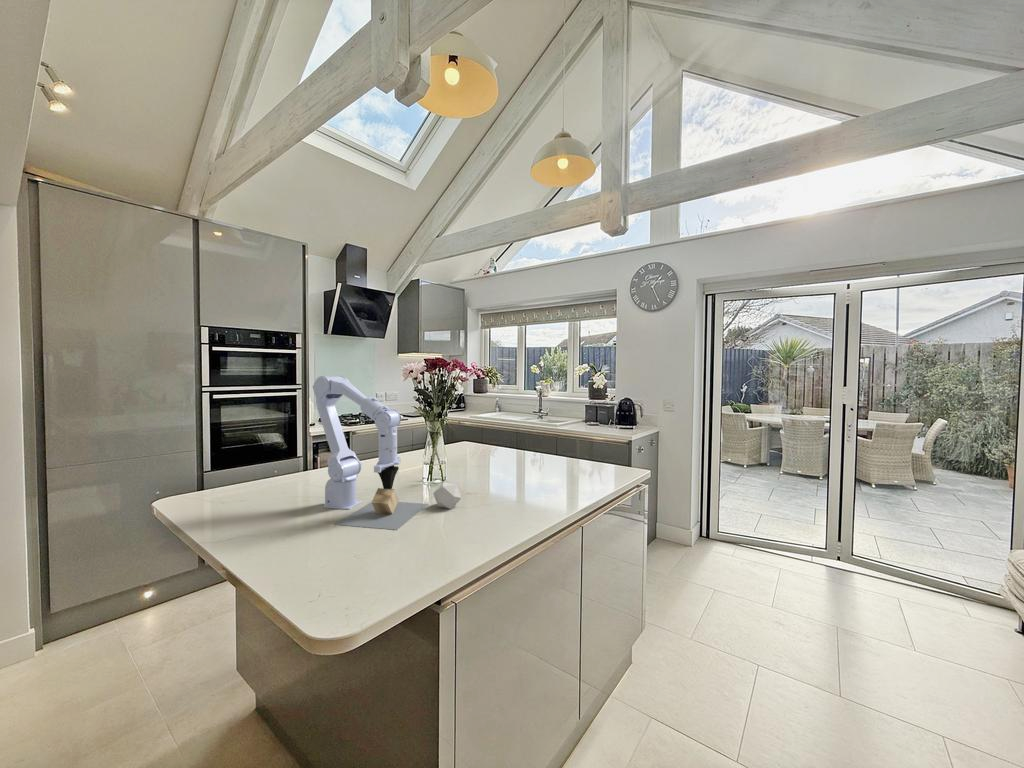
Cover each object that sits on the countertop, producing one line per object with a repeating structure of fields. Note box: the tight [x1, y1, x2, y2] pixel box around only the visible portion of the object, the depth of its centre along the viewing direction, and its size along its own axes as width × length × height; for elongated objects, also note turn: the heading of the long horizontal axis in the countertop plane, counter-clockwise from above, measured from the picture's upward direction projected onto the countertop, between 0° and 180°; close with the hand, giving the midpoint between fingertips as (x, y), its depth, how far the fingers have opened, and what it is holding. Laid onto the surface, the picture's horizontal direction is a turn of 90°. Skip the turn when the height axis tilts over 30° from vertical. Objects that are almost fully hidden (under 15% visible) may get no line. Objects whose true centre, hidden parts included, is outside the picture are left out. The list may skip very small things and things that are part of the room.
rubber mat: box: [333, 501, 429, 531], centre depth 135 cm, size 20×24×1 cm
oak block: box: [370, 487, 399, 514], centre depth 135 cm, size 6×6×6 cm
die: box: [432, 482, 462, 510], centre depth 142 cm, size 8×9×10 cm
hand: (387, 489), depth 137 cm, fingers closed
